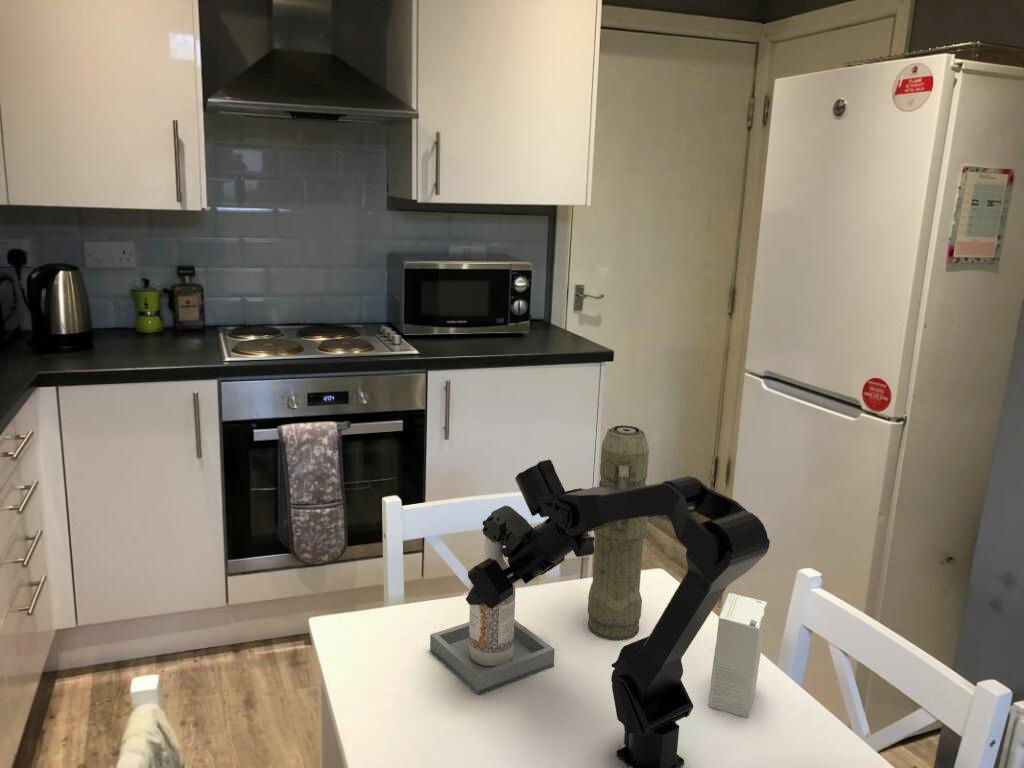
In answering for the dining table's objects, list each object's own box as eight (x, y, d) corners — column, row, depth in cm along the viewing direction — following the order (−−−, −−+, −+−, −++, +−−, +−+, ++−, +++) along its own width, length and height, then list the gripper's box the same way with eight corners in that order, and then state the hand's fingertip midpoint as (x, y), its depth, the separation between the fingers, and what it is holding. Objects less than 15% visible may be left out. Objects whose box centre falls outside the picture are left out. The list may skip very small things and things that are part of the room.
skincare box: (717, 679, 128) (726, 590, 125) (758, 689, 126) (768, 599, 122) (706, 709, 121) (716, 615, 117) (749, 720, 118) (760, 625, 115)
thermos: (635, 610, 148) (649, 420, 140) (643, 646, 136) (659, 441, 128) (585, 608, 148) (596, 418, 140) (589, 644, 137) (601, 439, 129)
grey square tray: (553, 666, 130) (554, 649, 129) (478, 695, 122) (479, 677, 121) (502, 627, 141) (502, 610, 140) (430, 651, 133) (430, 634, 132)
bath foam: (461, 649, 132) (463, 531, 128) (500, 640, 136) (504, 524, 131) (480, 672, 126) (483, 549, 122) (520, 661, 130) (525, 541, 125)
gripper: (551, 479, 130) (492, 527, 139) (480, 515, 115) (418, 567, 124) (593, 539, 128) (530, 585, 137) (525, 584, 113) (459, 632, 121)
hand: (486, 590), depth 130 cm, fingers open, 9 cm apart
